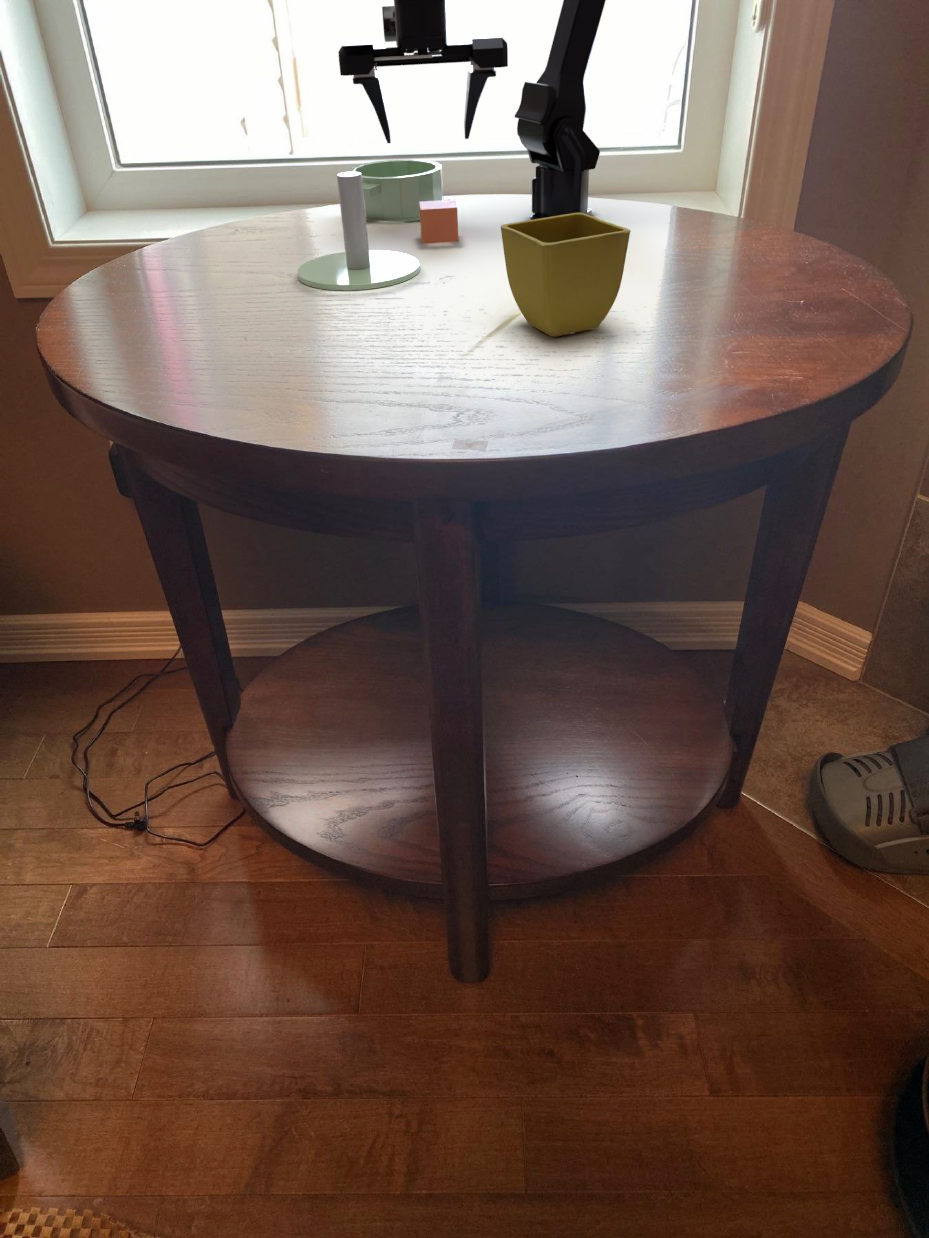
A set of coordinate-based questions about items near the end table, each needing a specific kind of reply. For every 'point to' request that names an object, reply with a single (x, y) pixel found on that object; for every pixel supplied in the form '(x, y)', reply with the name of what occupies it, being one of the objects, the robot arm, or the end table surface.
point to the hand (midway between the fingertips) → (427, 140)
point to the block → (438, 221)
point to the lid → (356, 250)
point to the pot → (399, 188)
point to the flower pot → (565, 270)
